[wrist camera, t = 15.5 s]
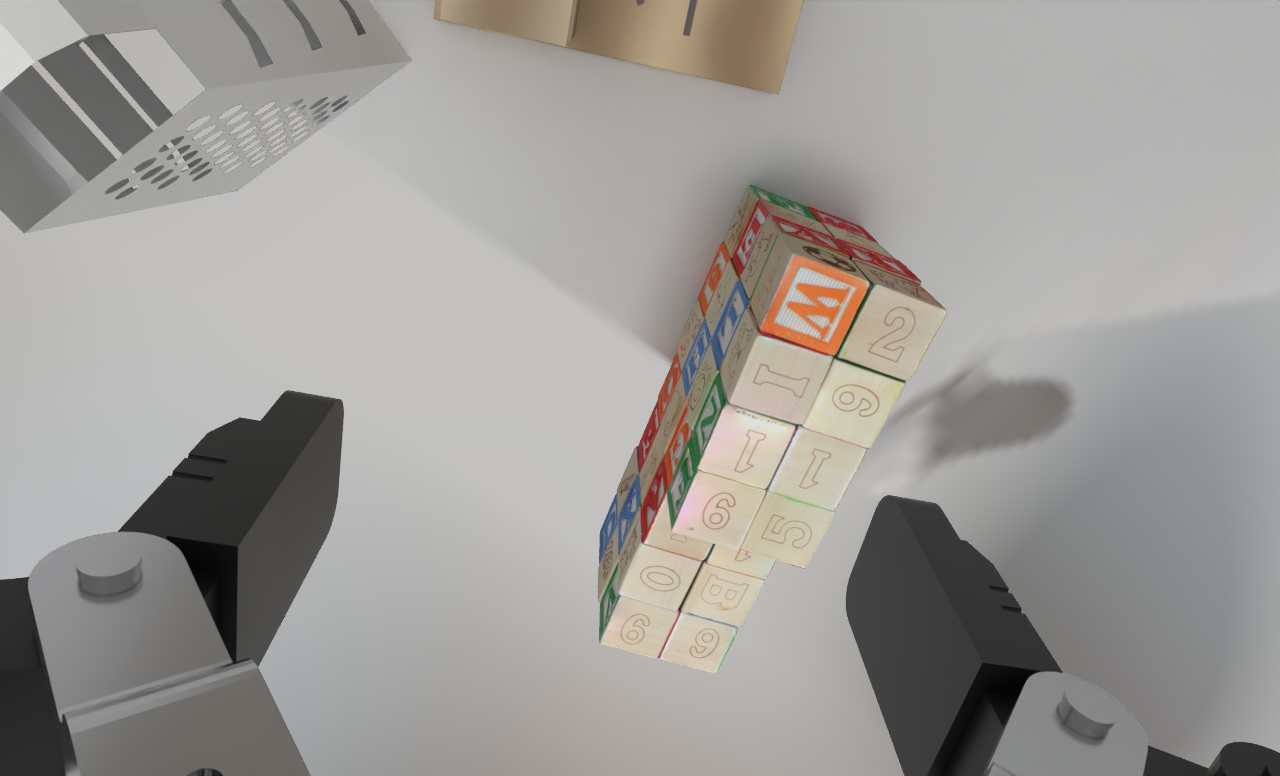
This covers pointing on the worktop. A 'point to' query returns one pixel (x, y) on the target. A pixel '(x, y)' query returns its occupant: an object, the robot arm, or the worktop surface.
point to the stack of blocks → (757, 426)
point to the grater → (219, 58)
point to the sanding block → (518, 17)
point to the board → (691, 36)
